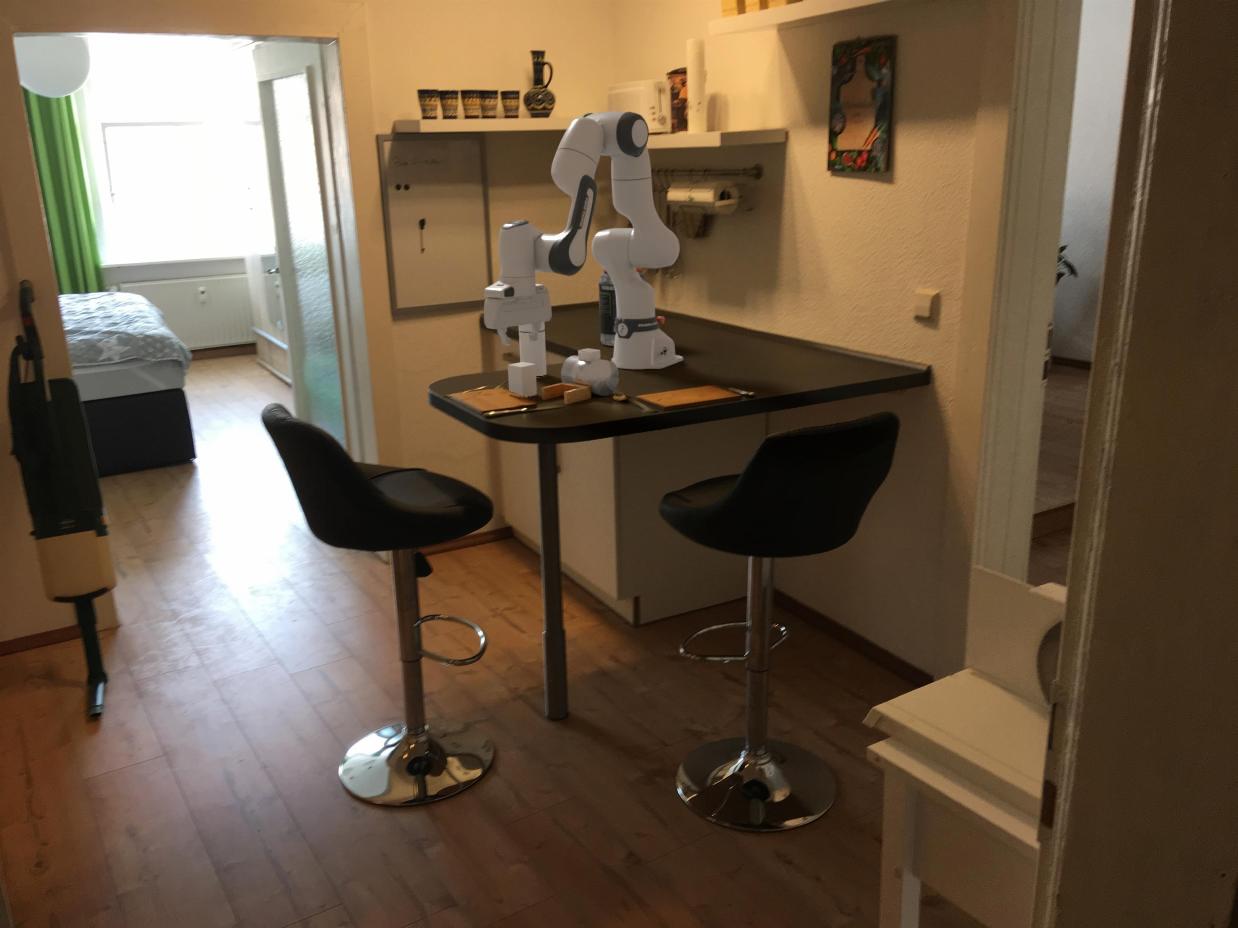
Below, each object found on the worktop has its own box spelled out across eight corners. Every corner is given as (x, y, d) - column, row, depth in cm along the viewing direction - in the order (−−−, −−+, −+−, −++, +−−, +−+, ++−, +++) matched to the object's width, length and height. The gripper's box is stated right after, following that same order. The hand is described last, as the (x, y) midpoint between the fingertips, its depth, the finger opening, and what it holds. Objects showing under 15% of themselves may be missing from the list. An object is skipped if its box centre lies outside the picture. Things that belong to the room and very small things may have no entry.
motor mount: (585, 386, 266) (584, 345, 263) (619, 392, 258) (618, 350, 255) (537, 398, 253) (536, 355, 250) (571, 405, 246) (570, 360, 242)
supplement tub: (656, 345, 324) (656, 263, 316) (612, 349, 317) (611, 266, 310) (634, 337, 337) (633, 259, 330) (592, 342, 331) (590, 262, 323)
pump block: (523, 392, 261) (522, 361, 259) (536, 394, 258) (535, 364, 255) (509, 395, 257) (507, 364, 255) (522, 398, 254) (521, 367, 252)
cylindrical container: (529, 378, 277) (525, 287, 269) (516, 374, 282) (512, 285, 275) (551, 375, 281) (547, 285, 273) (537, 371, 286) (534, 283, 279)
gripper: (539, 283, 259) (540, 336, 263) (478, 290, 244) (481, 346, 248) (556, 285, 255) (557, 339, 259) (496, 292, 240) (498, 349, 244)
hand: (520, 342), depth 253 cm, fingers open, 8 cm apart
